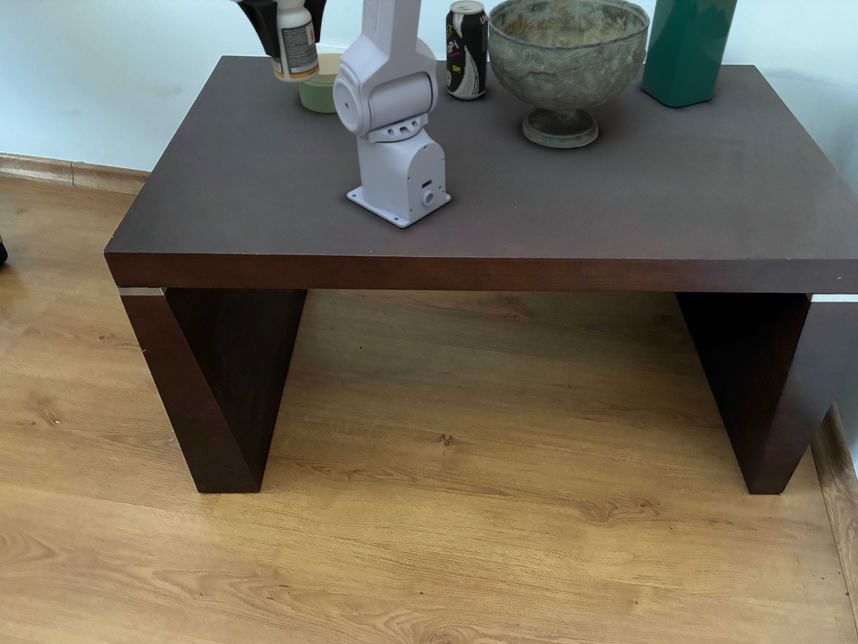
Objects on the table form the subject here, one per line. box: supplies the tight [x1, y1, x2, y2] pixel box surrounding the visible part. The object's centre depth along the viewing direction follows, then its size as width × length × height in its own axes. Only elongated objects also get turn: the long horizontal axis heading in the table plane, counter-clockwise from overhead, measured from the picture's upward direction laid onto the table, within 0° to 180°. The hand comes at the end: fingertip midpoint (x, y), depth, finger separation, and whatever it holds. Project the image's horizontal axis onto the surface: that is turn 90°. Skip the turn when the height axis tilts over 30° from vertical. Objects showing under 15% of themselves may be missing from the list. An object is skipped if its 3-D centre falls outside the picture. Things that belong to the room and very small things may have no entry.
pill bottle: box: [270, 0, 320, 84], centre depth 87 cm, size 6×6×10 cm
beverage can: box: [445, 0, 489, 100], centre depth 98 cm, size 6×6×12 cm
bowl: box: [487, 0, 651, 149], centre depth 90 cm, size 20×19×15 cm
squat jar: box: [297, 52, 343, 114], centre depth 99 cm, size 9×9×5 cm
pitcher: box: [640, 0, 739, 108], centre depth 94 cm, size 10×8×22 cm
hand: (293, 48), depth 88 cm, fingers closed on pill bottle, 5 cm apart
